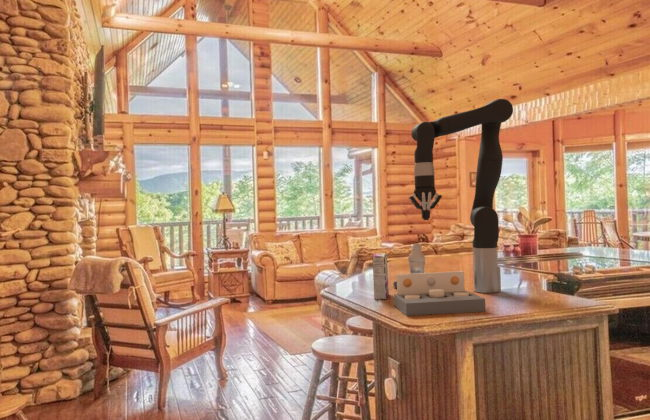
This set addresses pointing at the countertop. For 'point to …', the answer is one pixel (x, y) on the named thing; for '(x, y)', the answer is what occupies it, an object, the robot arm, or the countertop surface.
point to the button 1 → (412, 297)
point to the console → (427, 305)
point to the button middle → (436, 293)
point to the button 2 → (460, 294)
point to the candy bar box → (380, 276)
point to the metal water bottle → (416, 259)
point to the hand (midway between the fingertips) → (425, 220)
